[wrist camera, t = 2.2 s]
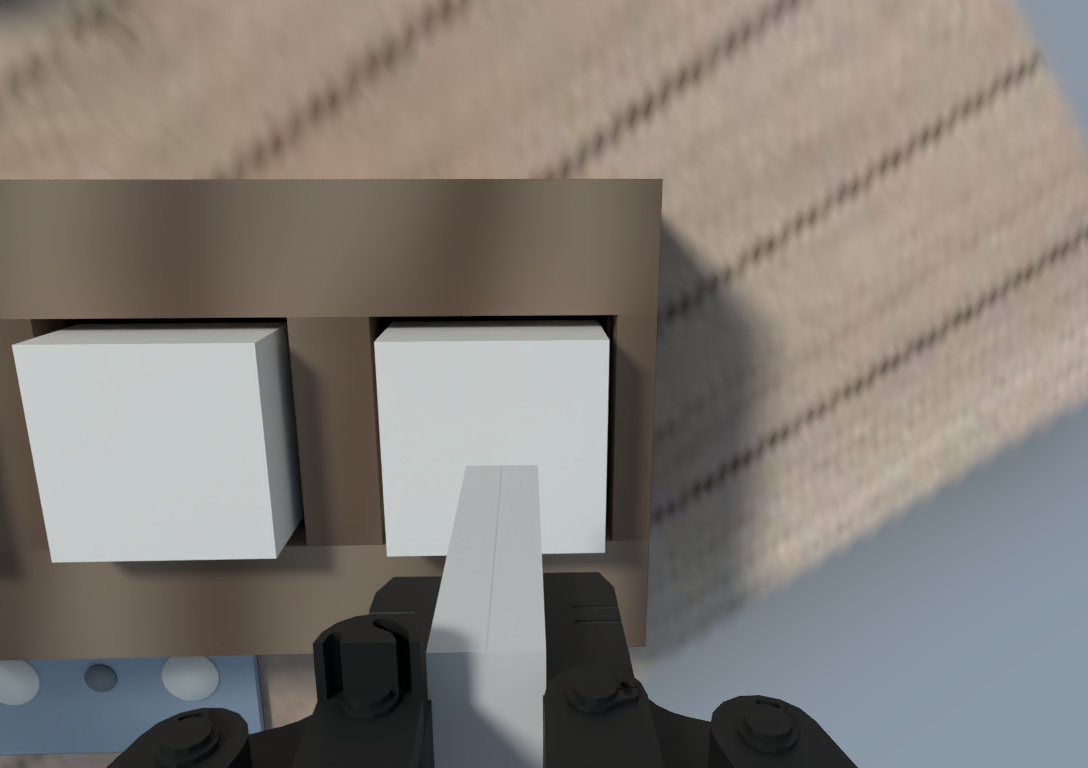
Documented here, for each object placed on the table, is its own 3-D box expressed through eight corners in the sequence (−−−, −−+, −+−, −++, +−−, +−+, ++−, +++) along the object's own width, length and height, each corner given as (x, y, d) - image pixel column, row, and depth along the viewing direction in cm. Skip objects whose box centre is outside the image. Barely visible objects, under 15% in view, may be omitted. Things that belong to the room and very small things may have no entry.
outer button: (403, 510, 24) (386, 556, 21) (392, 321, 22) (374, 341, 19) (594, 507, 24) (604, 552, 21) (597, 320, 22) (609, 339, 19)
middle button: (109, 515, 23) (51, 562, 20) (79, 323, 22) (11, 344, 19) (306, 512, 23) (276, 558, 21) (289, 322, 22) (254, 342, 19)
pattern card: (-30, 748, 31) (-38, 757, 30) (-65, 596, 29) (-75, 603, 29) (266, 741, 31) (262, 749, 31) (249, 590, 30) (244, 596, 29)
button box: (-87, 561, 29) (-255, 666, 22) (-176, 181, 25) (-406, 180, 19) (617, 548, 30) (645, 646, 23) (627, 180, 26) (662, 179, 20)
